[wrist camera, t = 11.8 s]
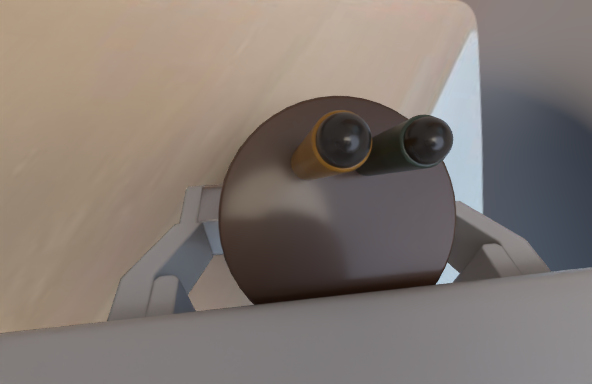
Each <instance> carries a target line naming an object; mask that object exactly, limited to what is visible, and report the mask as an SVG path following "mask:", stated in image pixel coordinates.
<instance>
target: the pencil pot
mask: <svg viewBox="0 0 592 384" xmlns="http://www.w3.org/2000/svg"><path fill="white" fill-rule="evenodd" d="M452 144H453V134H452V131H451V129H450V127H449V126H448V124H447V123H446V122H444V121H443V120H441V119H439V118H436V117H433V116H430V115H418V116H415V117H412V118H410V119H407V118H406V117H404V116H403V115H401V114H399V113H398V112H396V111H395V110H393V109H391V108H388V107H386V106H384V105H382V104H380V103H376V102H373V101H370V100H367V99H362V98H356V97H350V96H328V97H319V98H314V99H310V100H306V101H302V102H300V103H297V104H294V105H292V106H289V107H287V108H285V109H284V110H282V111H280V112H278V113H276V114H275V115H273V116H272V117H270V118H269V119H268V120H266V121H265V122H264V123H262V124H261V125H260V126H259V127H258V128H257V129H256V130H255V131H254V132H253V133H252V134H251V135H250V136H249V137H248V138H247V140H246V141H245V142H244V143H243V145H242V146H241V147H240V149H239V150H238V152H237V154H236V155H235V157H234V159H233V160H232V162H231V164H230V166H229V169H228V171H227V174H226V176H225V179H224V182H223V186H222V190H221V194H220V201H219V209H218V229H219V236H220V243H221V247H222V250H223V254H224V257H225V261H226V263H227V265H228V267H229V270H230V272H231V274H232V276H233V278H234V279H235V281H236V283H237V284H238V286H239V288H240V289H241V290H242V291H243V293H244V294H245V295H246V296H247V298H248V299H249V300H250V301H251V302H252V303H253V304H254V305H259V304H268V303H277V302H286V301H295V300H303V299H312V298H321V297H330V296H339V295H348V294H357V293H366V292H375V291H384V290H393V289H402V288H411V287H420V286H429V285H435V284H436V283H437V282H438V280H439V278H440V276H441V274H442V272H443V270H444V269H445V266H446V264H447V261H448V259H449V256H450V253H451V249H452V245H453V241H454V236H455V228H456V204H455V196H454V191H453V187H452V183H451V179H450V176H449V174H448V171H447V169H446V166H445V164H444V162H443V160H444V158H445V157H446V156H447V154H448V153H449V152H450V150H451V148H452Z"/></svg>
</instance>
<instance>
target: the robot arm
mask: <svg viewBox="0 0 592 384" xmlns="http://www.w3.org/2000/svg"><path fill="white" fill-rule="evenodd" d="M222 186H223V184H222V185H203V186H188V187H187V189H186V192H185V197H184V202H183V207H182V213H181V218H180V223H179V224H175V225H174V226H173V227H172V228H171V229H170V230H169V231H168V232H167V233H166V234H165V235H164V236H163V237H162V238H161V239H160V240H159V241H158V242H157V243H156V244H155V245H154V246H153V247H152V248H151V249H150V250H149V251H148V252H147V253H146V254H145V255H144V256H143V257H142V258H141V259H140V260H139V261H138V262H137V263H136V264H135V265H134V266H133V267H132V268H131V269H130V270H129V271H128V272H127V273H126V274H125V275H124V276H123V277H122V278H121V279H120V282H119V285H118V288H117V291H116V294H115V298H114V301H113V304H112V307H111V310H110V313H109V316H108V320H107V321H106V322H96V323H87V324H78V325H69V326H60V327H51V328H42V329H33V330H24V331H15V332H6V333H0V384H592V267H591V268H582V269H573V270H564V271H555V272H551V271H550V269H549V268H548V267H547V266H546V264H545V263H544V262H543V261H542V259H541V258H540V257H539V256H538V254H537V253H536V252H535V251H534V249H533V248H532V247H531V246H530V245H529V243H528V242H527V241H526V239H524V238H522V237H520V236H519V235H517V234H515V233H514V232H512V231H510V230H508V229H507V228H505V227H503V226H501V225H500V224H498V223H496V222H495V221H493V220H491V219H490V218H488V217H486V216H484V215H483V214H481V213H479V212H478V211H476V210H474V209H472V208H471V207H469V206H467V205H465V204H464V203H462V202H460V201H455V204H456V228H455V236H454V241H453V245H452V249H451V253H450V256H449V259H448V261H447V262H448V263H449V264H450V265H451V266H452V267H453V268H454V269H456V270H457V271H458V272H459V273H460V274H459V275H458V276H457V278H456V279H455V280H454V281H453V283H447V284H438V285H429V286H420V287H411V288H402V289H393V290H384V291H375V292H366V293H357V294H348V295H339V296H330V297H321V298H312V299H303V300H295V301H286V302H277V303H268V304H259V305H250V306H241V307H232V308H223V309H214V310H205V311H195V309H194V307H193V305H192V303H191V301H190V299H189V297H188V294H189V292H190V291H191V289H192V288H193V286H194V285H195V283H196V282H197V280H198V279H199V277H200V276H201V274H202V273H203V271H204V270H205V268H206V267H207V265H208V264H209V262H210V261H211V259H212V258H213V255H221V254H223V250H222V247H221V243H220V236H219V229H218V209H219V201H220V194H221V190H222Z"/></svg>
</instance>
